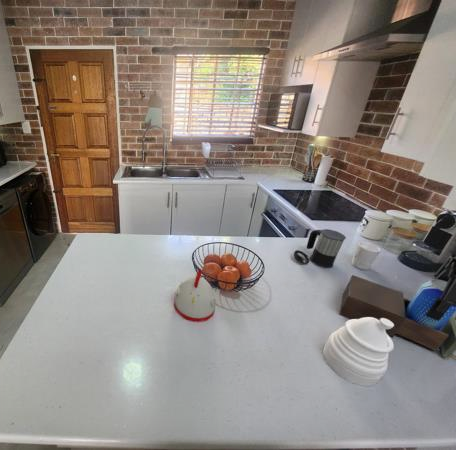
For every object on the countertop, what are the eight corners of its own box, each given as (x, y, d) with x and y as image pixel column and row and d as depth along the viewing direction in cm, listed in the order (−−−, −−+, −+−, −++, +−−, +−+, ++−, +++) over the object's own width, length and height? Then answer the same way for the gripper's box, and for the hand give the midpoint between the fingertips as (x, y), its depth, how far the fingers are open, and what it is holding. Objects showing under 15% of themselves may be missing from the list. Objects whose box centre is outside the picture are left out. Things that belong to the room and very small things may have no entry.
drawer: (466, 339, 76) (480, 323, 73) (478, 371, 67) (494, 355, 64) (388, 309, 87) (397, 294, 84) (389, 332, 77) (399, 317, 74)
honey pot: (390, 379, 65) (427, 331, 57) (354, 392, 62) (388, 344, 53) (345, 338, 76) (370, 293, 68) (312, 348, 73) (335, 302, 64)
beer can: (399, 326, 77) (426, 286, 70) (400, 311, 83) (425, 273, 76) (437, 342, 72) (470, 301, 65) (435, 325, 78) (465, 286, 71)
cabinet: (391, 311, 87) (403, 292, 83) (392, 338, 77) (406, 318, 73) (343, 292, 95) (352, 274, 91) (338, 314, 85) (348, 295, 81)
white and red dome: (169, 314, 82) (172, 278, 75) (180, 288, 94) (183, 255, 87) (211, 327, 78) (218, 290, 71) (217, 298, 90) (223, 264, 83)
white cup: (349, 258, 117) (357, 240, 112) (370, 264, 113) (379, 246, 108) (349, 266, 111) (358, 247, 106) (371, 273, 107) (381, 253, 102)
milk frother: (337, 264, 112) (349, 235, 105) (320, 276, 104) (333, 245, 97) (305, 249, 122) (315, 223, 116) (288, 259, 114) (297, 231, 107)
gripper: (448, 226, 74) (410, 285, 84) (465, 255, 59) (416, 323, 69) (487, 235, 69) (441, 296, 80) (515, 268, 55) (455, 338, 65)
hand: (430, 308), depth 74 cm, fingers closed on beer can, 8 cm apart
